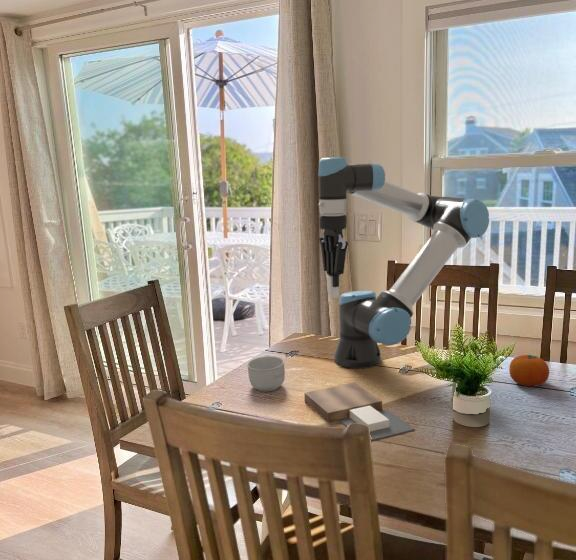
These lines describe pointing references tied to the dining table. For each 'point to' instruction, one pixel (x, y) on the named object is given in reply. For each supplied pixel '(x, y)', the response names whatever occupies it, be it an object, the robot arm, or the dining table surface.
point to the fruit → (529, 370)
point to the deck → (341, 401)
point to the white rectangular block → (369, 418)
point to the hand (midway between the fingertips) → (333, 297)
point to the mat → (394, 427)
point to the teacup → (266, 373)
